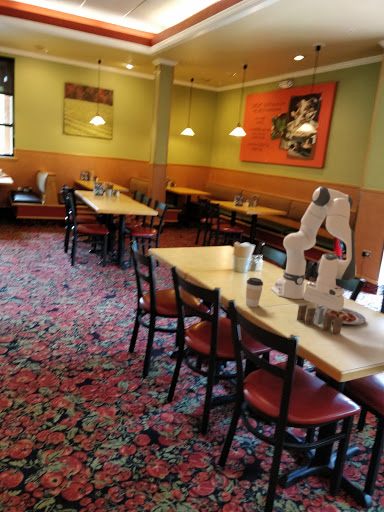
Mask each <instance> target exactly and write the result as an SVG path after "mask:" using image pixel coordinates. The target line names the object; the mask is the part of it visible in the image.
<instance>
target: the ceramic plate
mask: <svg viewBox="0 0 384 512" xmlns="http://www.w3.org/2000/svg"><path fill="white" fill-rule="evenodd" d="M321 307H323V306H321V305H319V308H321ZM315 313H316V310H315ZM327 314H333V320H332V322H334V319H335V318H338V317H341V318H343V320H342V325H344V324H345V325H361V324H363V323H365V322H366V317H365V316H364V315H363V314H361V313H360V312H358V311H355V310H352V309H349V308H346V307H343V309H342V310H341V311H335V310H332V309H329V310H328V311H327V312H326V315H327ZM324 319H325V315H324Z"/></svg>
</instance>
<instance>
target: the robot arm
mask: <svg viewBox="0 0 384 512" xmlns="http://www.w3.org/2000/svg"><path fill="white" fill-rule="evenodd" d="M311 200H312V201H311V202H310V204H309V205H308V207H307V209H306V211H305V213H304V214H303V216H302V218H301V219H300V223H301V224H300V228H299V231H297V232H291V233H289V234H287V235H286V236H285V237H284V239H283V243H282V245H283V247H284V249H285V250H286V251H285V252H286V257H287V258H286V267H285V270H284V271H282V273H283V275H282V276H281V277H280V278H278V279H276V280H275V282H274V285H273V286H271V287H270V290H271V291H273V293H275V294H276V296H278V297H283V298H287V299H293V300H301V299H303V300H305V301H307V302H309V303H312V304H314V307H315V308H316V312H315V314H317V309H318V308H319V306H323V307H324V309H325V310H324V311H322V313H321V315H326V312H327V311H328V310H329V309H332V310H335V311H341V310H342V309H343V308H344V305H345V304H344V303H345V298H344V294H345V290H343V289H342V288H341V287H339V286H338V285H337V284H336V283H337V282H336V280H341V281H344V282H350V281H352V280H354V279H355V278H356V276H357V264H356V242H355V240H356V239H355V231H354V230H353V229H351V227H350V217H351V216H350V215H351V209H352V208H353V206H354V199H353V198H352V197H351V196H350V195H349V194H346V193H343V192H341V191H339V190H338V189H337V190H335V189H333V188H328V187H327V186H318V187H317V188H315V190H314V192H313V193H312V195H311ZM324 221H325V229H326V230H327V231H328V233H329V234H330V235H332V236H333V237H334V238H337V239H339V240H341V242H343V243H344V244H345V247H346V259H345V260H344V259H339V256H338V255H337V254H334V253H330V252H329V253H324V254H322V256H321V257H320V259H319V260H318V261H317V265H316V270H315V271H316V273H317V274H318V275H317V278H316V282H315V283H313V282H307V283H305V278H306V273H305V272H306V268H307V267H306V266H307V259H305V251H307V250H310V249H311V248H313V247H314V246H315V245H316V243H317V238H316V237H317V234H318V232H319V229H320V227H321V225H322V224H323V222H324Z"/></svg>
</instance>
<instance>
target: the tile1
mask: <svg viewBox="0 0 384 512" xmlns="http://www.w3.org/2000/svg"><path fill="white" fill-rule="evenodd" d="M307 309H308V304H306V303H303V304H299V305H298V309H297V315H296V321H298V322H300V321H304V320H306V314H307Z"/></svg>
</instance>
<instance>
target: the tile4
mask: <svg viewBox="0 0 384 512" xmlns="http://www.w3.org/2000/svg"><path fill="white" fill-rule="evenodd" d="M332 320H333V314H327V315H325V318H324V321H323V323H322V324H323V325H322V332H324V333H325V332H329V331H332V327H333V321H332Z"/></svg>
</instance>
